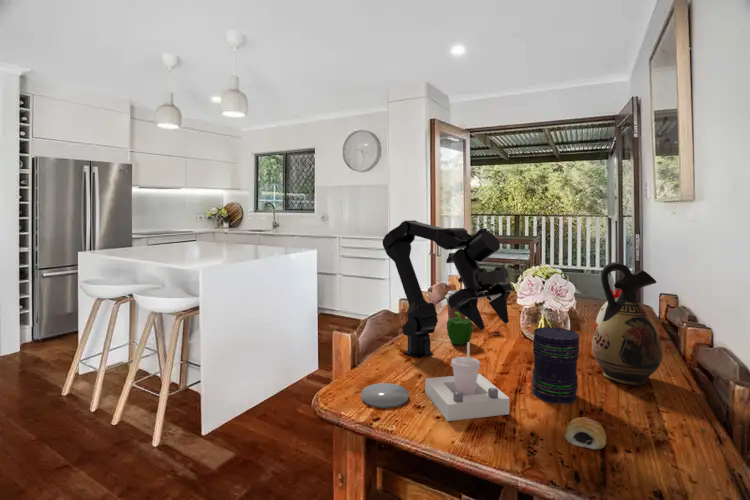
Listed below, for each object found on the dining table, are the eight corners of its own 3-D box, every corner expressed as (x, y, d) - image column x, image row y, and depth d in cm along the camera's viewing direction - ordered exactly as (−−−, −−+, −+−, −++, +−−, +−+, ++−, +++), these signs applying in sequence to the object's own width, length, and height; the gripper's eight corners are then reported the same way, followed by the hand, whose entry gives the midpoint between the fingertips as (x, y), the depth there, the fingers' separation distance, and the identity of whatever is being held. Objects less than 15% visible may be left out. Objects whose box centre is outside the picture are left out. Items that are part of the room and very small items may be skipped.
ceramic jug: (649, 371, 113) (656, 261, 110) (669, 394, 98) (677, 268, 95) (580, 363, 118) (584, 259, 115) (589, 384, 104) (594, 265, 101)
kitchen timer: (590, 323, 162) (592, 285, 160) (628, 324, 160) (630, 286, 159) (604, 333, 148) (606, 291, 147) (646, 334, 146) (648, 292, 145)
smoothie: (480, 410, 90) (481, 347, 89) (450, 408, 91) (451, 345, 90) (478, 397, 96) (480, 338, 95) (450, 395, 98) (451, 337, 96)
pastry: (571, 422, 85) (572, 404, 85) (609, 432, 82) (610, 414, 81) (563, 443, 78) (564, 424, 77) (604, 455, 74) (605, 435, 73)
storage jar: (574, 408, 91) (577, 341, 90) (527, 397, 96) (529, 334, 95) (579, 391, 100) (581, 330, 98) (536, 383, 105) (538, 325, 103)
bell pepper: (474, 347, 133) (475, 316, 132) (449, 346, 133) (449, 316, 132) (469, 339, 142) (469, 310, 141) (445, 339, 142) (445, 310, 141)
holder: (425, 392, 99) (425, 372, 99) (479, 387, 102) (479, 367, 102) (447, 421, 86) (447, 397, 85) (509, 414, 88) (509, 391, 88)
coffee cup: (444, 324, 160) (445, 293, 159) (444, 318, 169) (445, 289, 168) (469, 325, 159) (469, 294, 158) (467, 319, 168) (468, 290, 167)
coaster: (351, 396, 97) (351, 392, 97) (385, 383, 105) (385, 379, 105) (383, 412, 89) (383, 408, 89) (418, 397, 97) (418, 393, 96)
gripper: (464, 257, 98) (493, 319, 92) (513, 253, 108) (542, 307, 103) (436, 278, 106) (461, 336, 100) (484, 272, 116) (509, 324, 111)
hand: (495, 325), depth 103 cm, fingers open, 9 cm apart
